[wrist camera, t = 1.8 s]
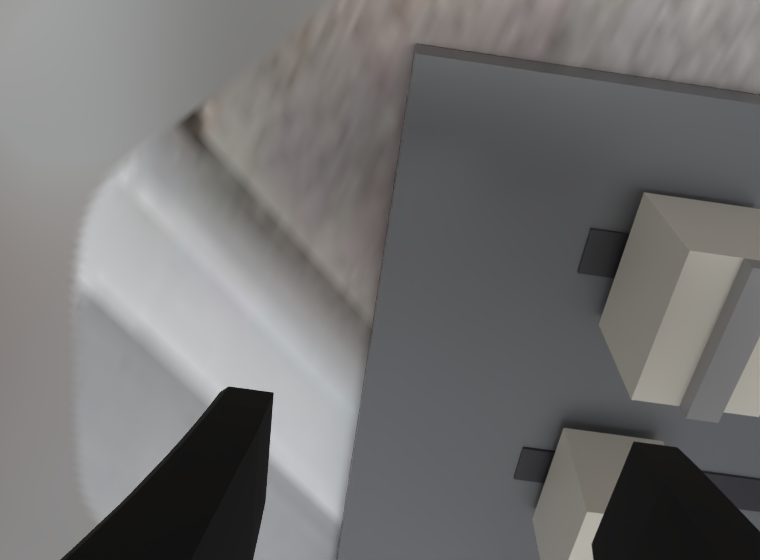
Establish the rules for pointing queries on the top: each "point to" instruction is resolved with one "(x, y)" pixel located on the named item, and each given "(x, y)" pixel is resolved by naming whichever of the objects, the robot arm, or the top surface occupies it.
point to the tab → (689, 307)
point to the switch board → (524, 295)
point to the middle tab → (579, 492)
